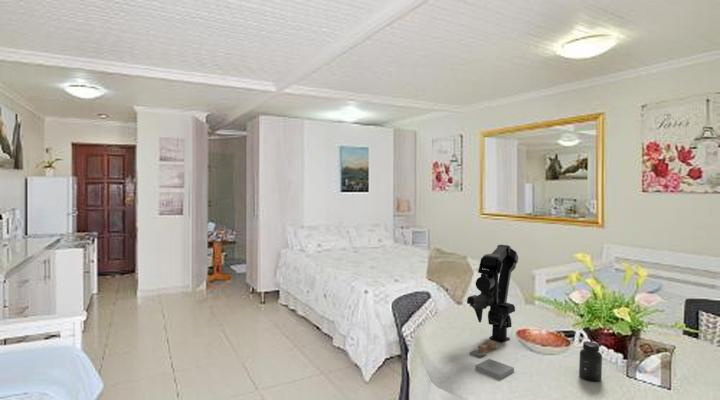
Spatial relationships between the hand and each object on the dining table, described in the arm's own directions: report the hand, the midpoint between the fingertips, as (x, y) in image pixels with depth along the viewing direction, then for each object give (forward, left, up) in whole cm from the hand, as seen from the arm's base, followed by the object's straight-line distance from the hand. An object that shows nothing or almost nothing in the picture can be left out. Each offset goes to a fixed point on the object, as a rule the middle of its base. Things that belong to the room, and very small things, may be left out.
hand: (489, 325), depth 168 cm
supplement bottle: (-6, +36, -11) cm, 38 cm away
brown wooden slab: (+3, 0, -10) cm, 11 cm away
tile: (+11, +12, -10) cm, 19 cm away
